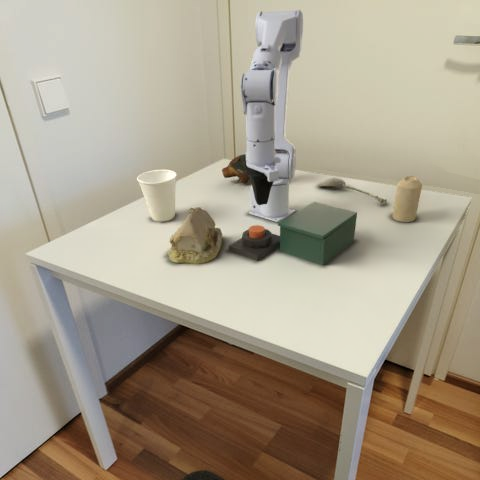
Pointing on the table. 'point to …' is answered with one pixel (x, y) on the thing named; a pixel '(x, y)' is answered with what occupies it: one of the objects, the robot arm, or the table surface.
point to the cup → (159, 193)
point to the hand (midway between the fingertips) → (261, 203)
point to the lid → (317, 219)
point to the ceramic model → (195, 239)
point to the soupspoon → (342, 184)
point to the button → (256, 232)
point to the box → (317, 243)
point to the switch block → (255, 245)
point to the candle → (407, 199)
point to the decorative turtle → (237, 169)
